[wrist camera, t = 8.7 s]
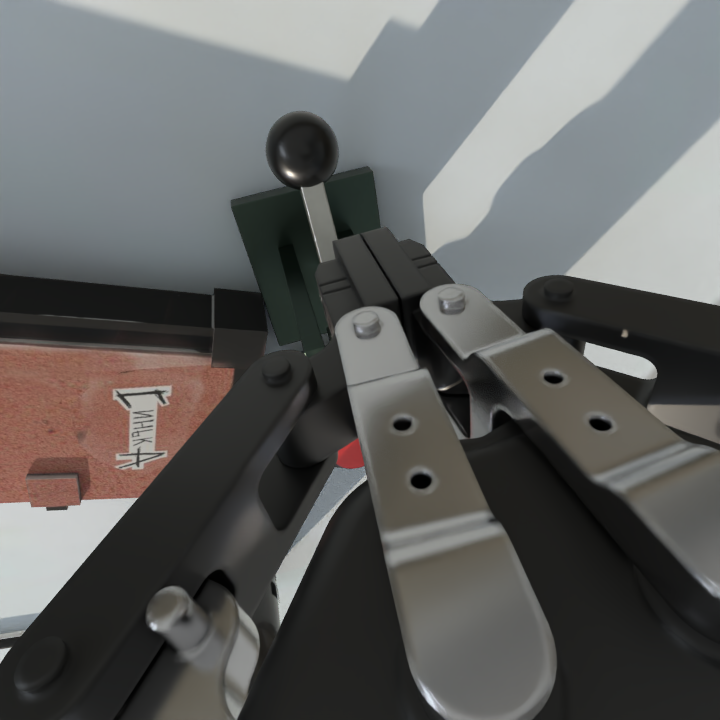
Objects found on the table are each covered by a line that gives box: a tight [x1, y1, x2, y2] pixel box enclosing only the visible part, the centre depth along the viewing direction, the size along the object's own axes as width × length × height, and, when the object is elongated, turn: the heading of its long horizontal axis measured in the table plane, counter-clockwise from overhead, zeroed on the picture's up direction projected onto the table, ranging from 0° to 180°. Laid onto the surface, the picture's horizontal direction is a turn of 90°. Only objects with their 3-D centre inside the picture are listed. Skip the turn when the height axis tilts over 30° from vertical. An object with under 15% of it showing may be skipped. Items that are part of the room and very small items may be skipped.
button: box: [336, 439, 364, 469], centre depth 39 cm, size 4×4×2 cm
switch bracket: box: [231, 166, 381, 358], centre depth 28 cm, size 11×9×13 cm
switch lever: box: [266, 111, 339, 341], centre depth 23 cm, size 13×3×3 cm, turn 10°
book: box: [0, 274, 268, 511], centre depth 32 cm, size 26×18×5 cm
